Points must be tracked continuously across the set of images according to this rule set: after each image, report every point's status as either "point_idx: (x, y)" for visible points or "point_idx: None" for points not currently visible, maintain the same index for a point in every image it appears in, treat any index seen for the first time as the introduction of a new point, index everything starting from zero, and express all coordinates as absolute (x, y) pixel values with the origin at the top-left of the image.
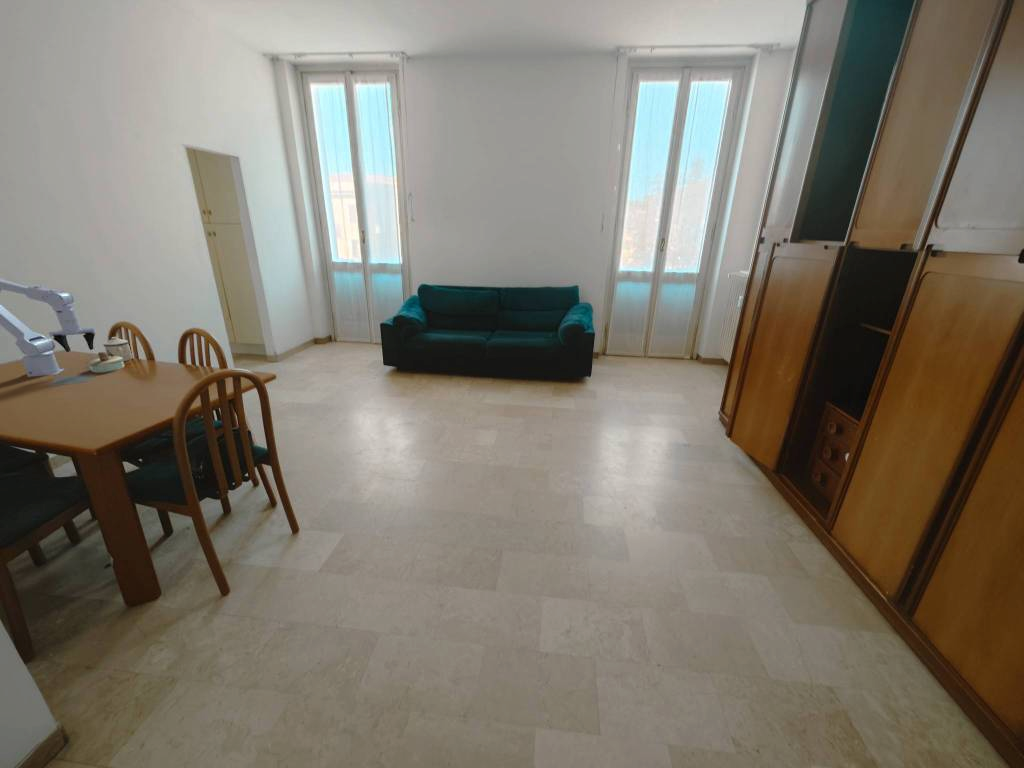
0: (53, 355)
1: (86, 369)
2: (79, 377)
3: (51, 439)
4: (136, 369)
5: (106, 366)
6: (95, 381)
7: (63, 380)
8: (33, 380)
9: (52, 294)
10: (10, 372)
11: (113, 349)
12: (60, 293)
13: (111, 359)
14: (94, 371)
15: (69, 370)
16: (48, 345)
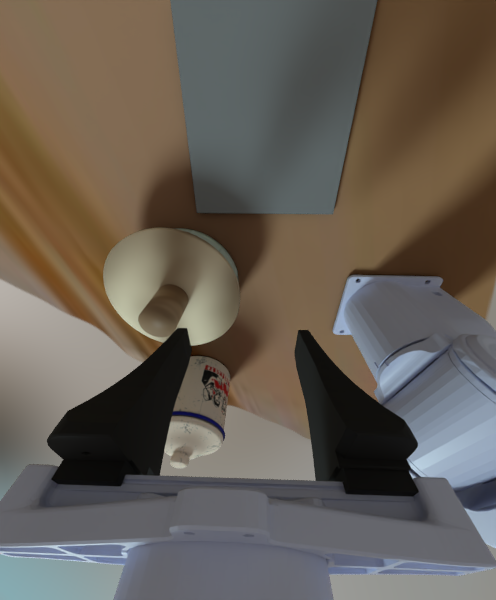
0: (373, 361)
1: (267, 311)
2: (247, 162)
3: None
4: (73, 236)
5: None
6: (141, 42)
7: (307, 127)
8: (424, 228)
9: None
10: None
11: (188, 398)
12: None
13: (148, 298)
14: (214, 242)
15: (318, 319)
16: (409, 418)
